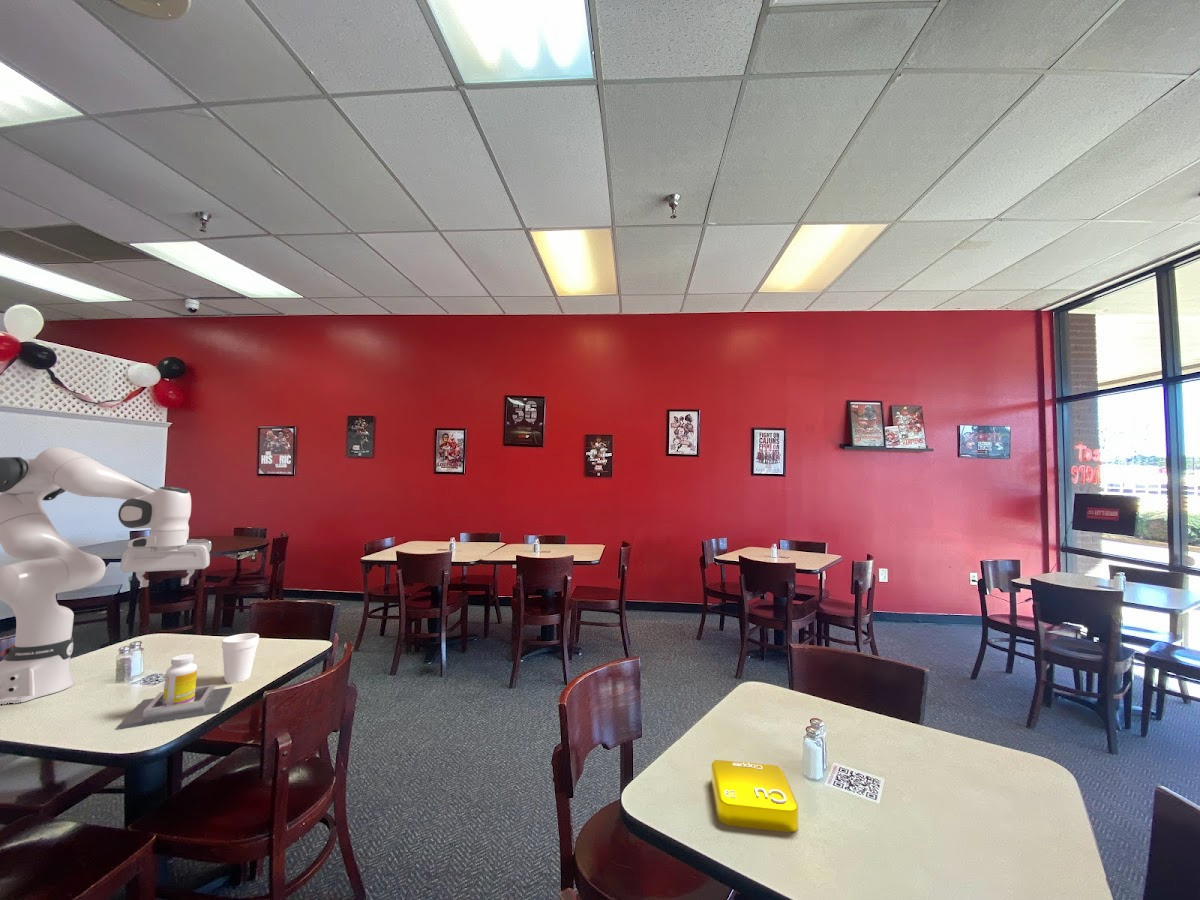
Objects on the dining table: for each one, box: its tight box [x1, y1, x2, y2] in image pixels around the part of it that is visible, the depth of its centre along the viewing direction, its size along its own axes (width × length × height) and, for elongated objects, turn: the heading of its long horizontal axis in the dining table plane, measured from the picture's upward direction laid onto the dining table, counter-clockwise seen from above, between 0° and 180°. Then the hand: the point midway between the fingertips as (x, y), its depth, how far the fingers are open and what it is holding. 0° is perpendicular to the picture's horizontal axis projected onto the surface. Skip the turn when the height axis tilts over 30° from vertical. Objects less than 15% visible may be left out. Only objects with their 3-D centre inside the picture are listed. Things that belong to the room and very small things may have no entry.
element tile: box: [711, 759, 799, 833], centre depth 95 cm, size 15×15×5 cm
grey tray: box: [119, 684, 233, 730], centre depth 130 cm, size 20×16×3 cm
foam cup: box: [221, 632, 260, 684], centre depth 150 cm, size 10×9×13 cm
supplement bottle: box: [163, 653, 198, 706], centre depth 131 cm, size 7×7×13 cm
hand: (164, 585), depth 143 cm, fingers open, 8 cm apart
